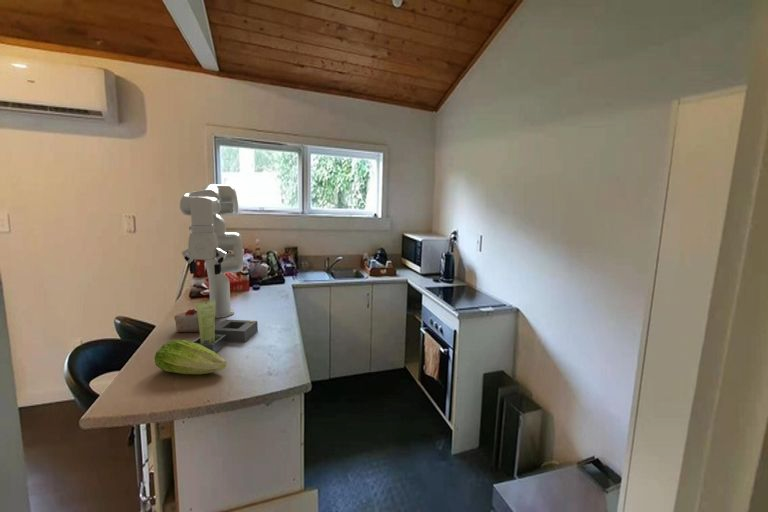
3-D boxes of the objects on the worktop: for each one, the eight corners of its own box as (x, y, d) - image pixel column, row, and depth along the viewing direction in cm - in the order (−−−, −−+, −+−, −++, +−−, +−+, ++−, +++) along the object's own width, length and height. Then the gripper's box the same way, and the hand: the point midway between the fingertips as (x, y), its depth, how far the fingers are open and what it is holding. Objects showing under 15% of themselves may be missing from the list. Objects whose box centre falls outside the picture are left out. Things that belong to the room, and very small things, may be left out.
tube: (205, 345, 146) (203, 299, 142) (218, 345, 145) (215, 299, 142) (198, 351, 140) (195, 303, 137) (211, 351, 140) (208, 303, 137)
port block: (210, 341, 150) (209, 328, 149) (225, 329, 163) (225, 318, 162) (244, 342, 149) (244, 330, 148) (257, 331, 162) (257, 320, 161)
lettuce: (208, 372, 113) (227, 338, 122) (141, 361, 117) (165, 328, 125) (222, 389, 121) (239, 356, 130) (159, 377, 125) (180, 346, 134)
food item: (172, 334, 157) (171, 312, 156) (181, 327, 165) (179, 307, 163) (204, 333, 159) (203, 312, 157) (211, 327, 166) (210, 306, 165)
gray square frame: (189, 353, 138) (188, 344, 137) (204, 342, 148) (203, 333, 147) (213, 354, 137) (212, 345, 136) (226, 344, 147) (226, 334, 147)
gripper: (174, 229, 132) (178, 274, 135) (220, 231, 131) (222, 276, 134) (187, 228, 140) (189, 271, 142) (229, 229, 139) (231, 272, 141)
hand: (205, 273), depth 138 cm, fingers open, 9 cm apart
